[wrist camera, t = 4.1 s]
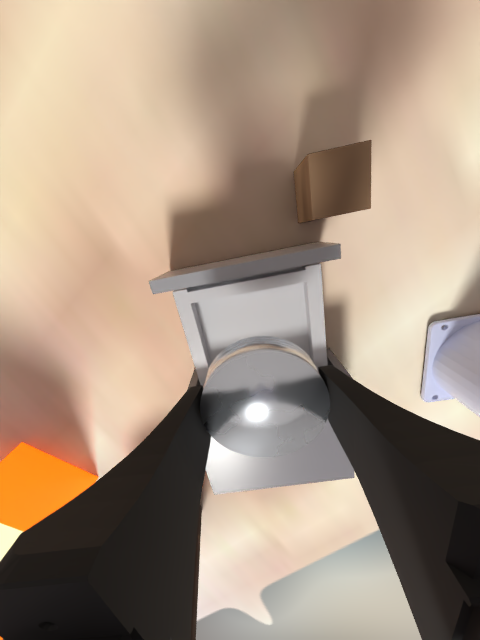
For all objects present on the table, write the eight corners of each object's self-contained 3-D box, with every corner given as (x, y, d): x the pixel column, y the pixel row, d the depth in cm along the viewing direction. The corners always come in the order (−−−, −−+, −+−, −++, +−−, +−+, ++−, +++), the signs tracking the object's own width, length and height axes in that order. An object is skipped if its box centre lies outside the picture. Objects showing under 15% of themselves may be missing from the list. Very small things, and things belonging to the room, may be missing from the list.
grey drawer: (317, 241, 16) (340, 244, 13) (325, 360, 20) (345, 390, 16) (168, 271, 17) (148, 281, 13) (201, 380, 21) (192, 412, 17)
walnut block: (342, 160, 15) (371, 139, 12) (344, 213, 16) (370, 208, 13) (293, 171, 15) (308, 153, 12) (298, 223, 16) (312, 220, 13)
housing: (328, 347, 20) (352, 378, 15) (334, 434, 23) (354, 477, 19) (194, 369, 20) (182, 403, 16) (218, 449, 24) (214, 494, 20)
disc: (315, 327, 10) (328, 343, 9) (320, 423, 12) (331, 450, 10) (194, 345, 10) (186, 363, 9) (217, 435, 12) (214, 463, 11)
